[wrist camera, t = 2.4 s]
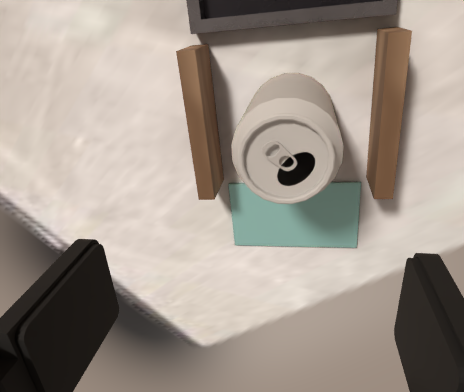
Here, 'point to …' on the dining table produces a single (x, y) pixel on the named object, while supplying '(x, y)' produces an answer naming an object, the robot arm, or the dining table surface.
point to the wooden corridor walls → (381, 126)
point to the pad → (297, 218)
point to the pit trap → (278, 12)
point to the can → (288, 140)
